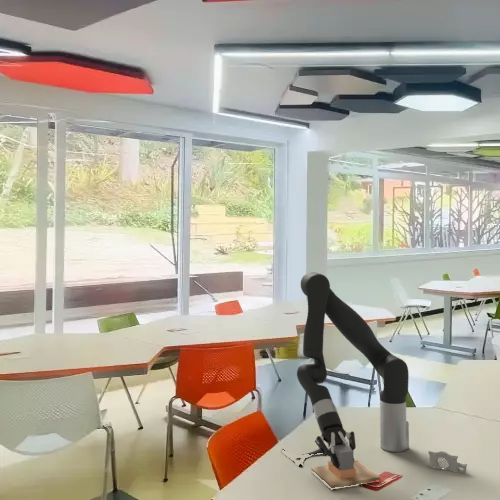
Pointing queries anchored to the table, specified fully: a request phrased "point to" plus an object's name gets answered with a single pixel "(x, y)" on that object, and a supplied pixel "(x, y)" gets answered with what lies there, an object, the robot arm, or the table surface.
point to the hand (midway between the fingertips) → (345, 465)
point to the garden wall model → (449, 458)
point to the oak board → (333, 481)
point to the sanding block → (343, 462)
